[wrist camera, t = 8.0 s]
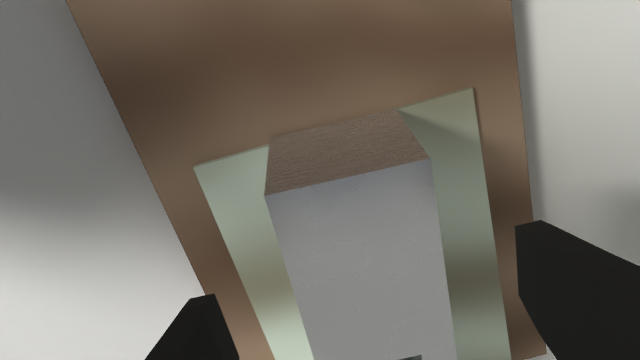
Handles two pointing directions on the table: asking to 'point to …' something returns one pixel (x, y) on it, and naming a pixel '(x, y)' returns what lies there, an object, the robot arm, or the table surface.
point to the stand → (313, 111)
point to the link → (362, 239)
